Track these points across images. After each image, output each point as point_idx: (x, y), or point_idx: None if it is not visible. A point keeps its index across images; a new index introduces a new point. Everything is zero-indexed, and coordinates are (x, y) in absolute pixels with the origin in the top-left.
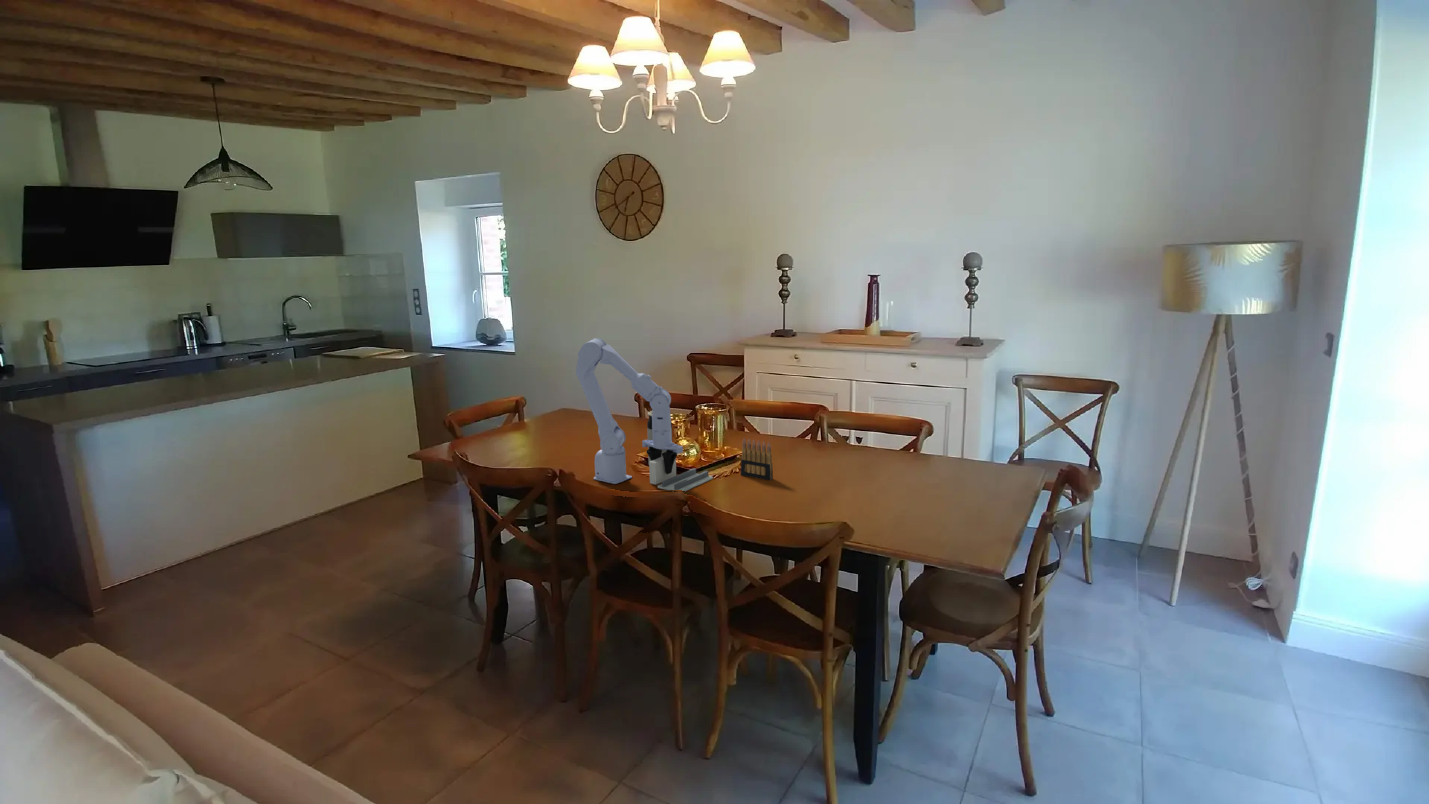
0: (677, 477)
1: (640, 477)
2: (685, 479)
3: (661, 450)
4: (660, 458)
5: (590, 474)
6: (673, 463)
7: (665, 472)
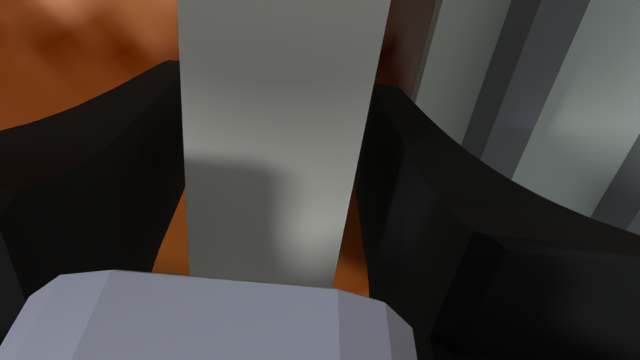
0: (521, 149)
1: (20, 108)
2: (581, 23)
3: (59, 204)
4: (235, 271)
5: None
6: (455, 144)
7: (356, 174)
